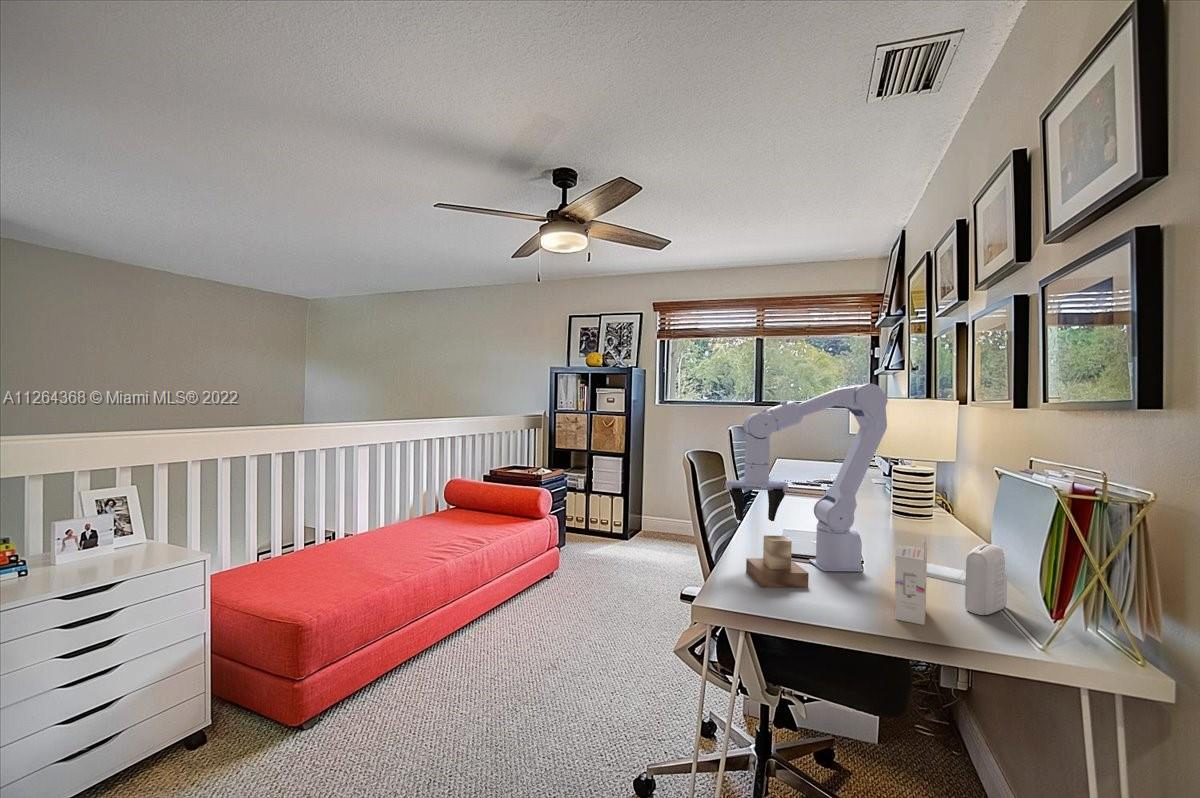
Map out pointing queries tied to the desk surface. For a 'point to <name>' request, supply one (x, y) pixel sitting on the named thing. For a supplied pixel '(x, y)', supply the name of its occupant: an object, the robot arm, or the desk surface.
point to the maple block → (777, 552)
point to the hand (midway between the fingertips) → (755, 520)
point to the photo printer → (985, 580)
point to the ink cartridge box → (911, 583)
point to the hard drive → (946, 573)
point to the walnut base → (776, 574)
